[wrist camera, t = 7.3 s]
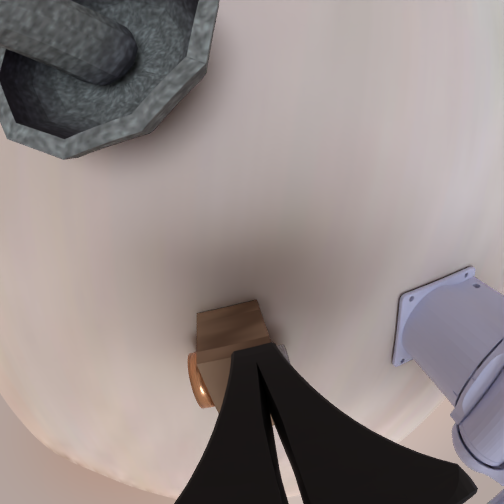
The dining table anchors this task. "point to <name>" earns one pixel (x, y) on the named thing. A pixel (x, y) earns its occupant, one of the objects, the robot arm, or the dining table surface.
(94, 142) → the mortar and pestle
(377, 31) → the dining table surface
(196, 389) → the pin
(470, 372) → the robot arm
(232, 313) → the block
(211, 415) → the dining table surface
